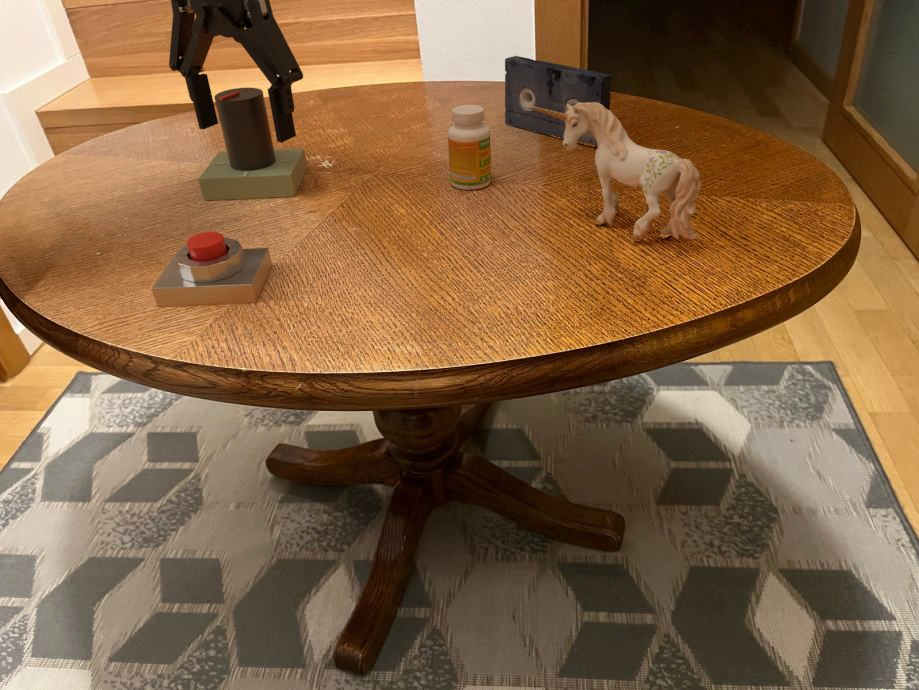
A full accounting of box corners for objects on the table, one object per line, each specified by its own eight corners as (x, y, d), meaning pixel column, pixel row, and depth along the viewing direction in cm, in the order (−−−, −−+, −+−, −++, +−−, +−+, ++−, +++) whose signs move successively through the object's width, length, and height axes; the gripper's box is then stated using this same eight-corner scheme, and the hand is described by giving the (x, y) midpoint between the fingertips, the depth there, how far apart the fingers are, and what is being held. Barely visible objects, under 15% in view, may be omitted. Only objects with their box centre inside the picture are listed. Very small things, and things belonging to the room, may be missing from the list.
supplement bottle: (485, 192, 94) (483, 116, 88) (445, 189, 95) (441, 114, 90) (495, 176, 98) (494, 103, 92) (456, 174, 99) (453, 101, 94)
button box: (157, 307, 73) (145, 272, 71) (181, 269, 80) (172, 236, 78) (256, 303, 73) (248, 268, 71) (272, 265, 80) (265, 232, 77)
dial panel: (203, 201, 95) (197, 177, 94) (223, 172, 104) (218, 150, 102) (294, 196, 95) (290, 173, 93) (307, 168, 104) (304, 146, 102)
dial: (253, 152, 101) (239, 83, 96) (285, 158, 98) (272, 88, 93) (220, 166, 97) (203, 95, 92) (252, 173, 94) (237, 100, 89)
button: (186, 263, 73) (181, 248, 72) (196, 247, 76) (192, 232, 75) (222, 262, 73) (218, 246, 72) (231, 246, 76) (227, 230, 75)
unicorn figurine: (557, 199, 91) (561, 89, 83) (713, 233, 81) (733, 112, 74) (528, 220, 86) (530, 106, 79) (690, 259, 77) (709, 133, 69)
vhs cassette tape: (608, 144, 106) (613, 74, 101) (595, 150, 105) (599, 78, 99) (517, 119, 118) (517, 54, 112) (504, 124, 116) (503, 58, 110)
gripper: (108, -49, 86) (158, 129, 98) (268, -45, 76) (302, 154, 88) (158, -57, 91) (199, 113, 103) (314, -54, 81) (340, 135, 93)
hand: (246, 132), depth 96 cm, fingers open, 13 cm apart
